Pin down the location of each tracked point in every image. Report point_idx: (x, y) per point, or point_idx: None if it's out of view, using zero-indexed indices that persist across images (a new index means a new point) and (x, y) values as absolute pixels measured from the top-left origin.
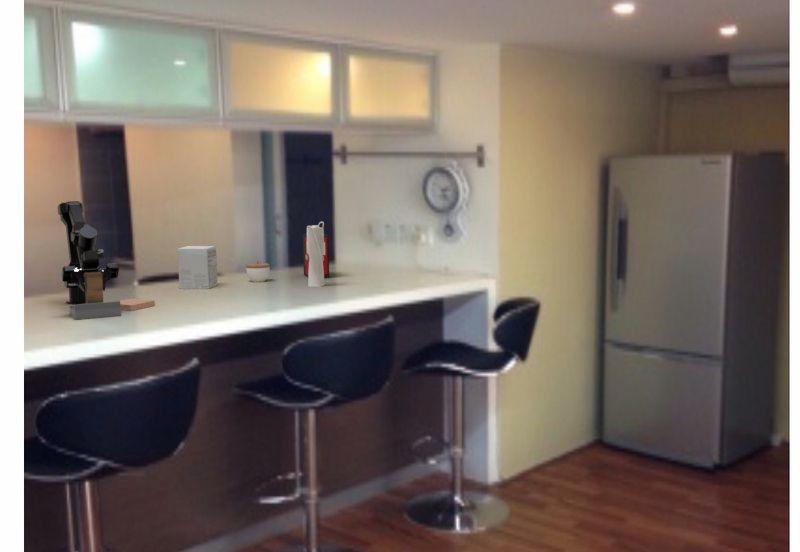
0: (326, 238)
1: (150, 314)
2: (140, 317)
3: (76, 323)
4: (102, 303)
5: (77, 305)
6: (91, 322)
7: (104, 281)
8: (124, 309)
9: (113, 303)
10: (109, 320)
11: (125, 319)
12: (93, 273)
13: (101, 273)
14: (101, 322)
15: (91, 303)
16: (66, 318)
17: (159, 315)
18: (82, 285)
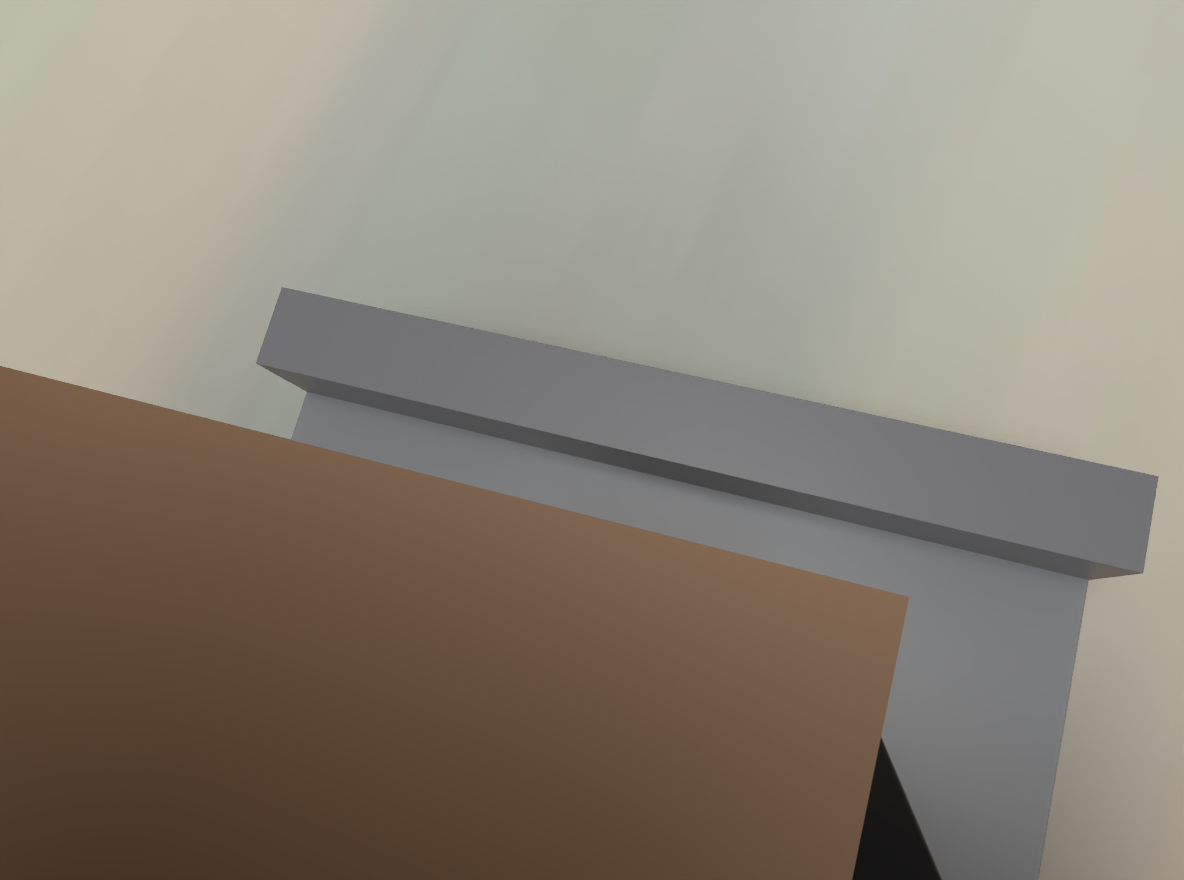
0: None
1: (100, 184)
2: (297, 66)
3: (1142, 201)
4: (591, 354)
5: (1091, 466)
6: (932, 135)
7: None
8: None
9: (405, 320)
10: (677, 120)
11: (495, 54)
12: (417, 545)
13: (31, 374)
14: (825, 48)
15: (777, 450)
16: (1119, 780)
17: (82, 47)
18: (919, 878)
